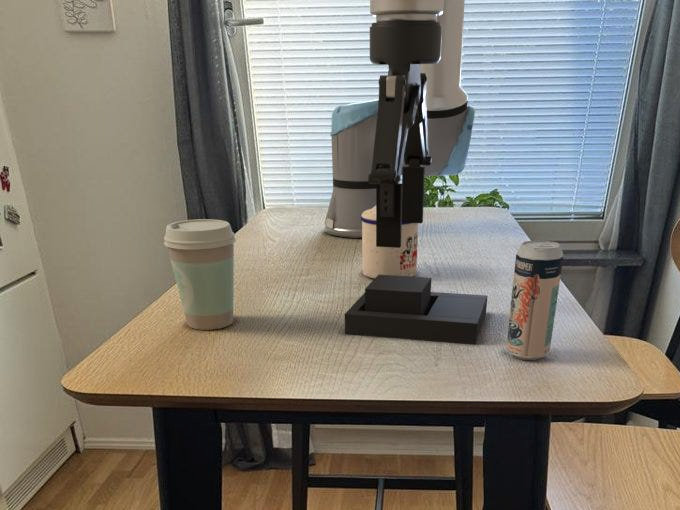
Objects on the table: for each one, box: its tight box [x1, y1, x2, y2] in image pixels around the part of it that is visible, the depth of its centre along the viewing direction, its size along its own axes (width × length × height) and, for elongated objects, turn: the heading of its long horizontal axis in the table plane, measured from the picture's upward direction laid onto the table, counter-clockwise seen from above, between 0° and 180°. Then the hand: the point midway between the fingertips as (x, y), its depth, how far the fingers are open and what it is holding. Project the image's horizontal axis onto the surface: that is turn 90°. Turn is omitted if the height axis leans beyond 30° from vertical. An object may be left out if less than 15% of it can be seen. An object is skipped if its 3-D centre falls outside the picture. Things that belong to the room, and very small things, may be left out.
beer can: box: [505, 239, 564, 361], centre depth 72 cm, size 5×5×12 cm
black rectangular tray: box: [344, 291, 488, 345], centre depth 85 cm, size 12×16×2 cm
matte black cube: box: [364, 275, 432, 316], centre depth 84 cm, size 7×7×5 cm
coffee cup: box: [163, 218, 237, 331], centre depth 83 cm, size 8×9×12 cm
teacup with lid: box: [361, 206, 419, 280], centre depth 105 cm, size 12×9×12 cm
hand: (401, 234), depth 80 cm, fingers open, 13 cm apart
